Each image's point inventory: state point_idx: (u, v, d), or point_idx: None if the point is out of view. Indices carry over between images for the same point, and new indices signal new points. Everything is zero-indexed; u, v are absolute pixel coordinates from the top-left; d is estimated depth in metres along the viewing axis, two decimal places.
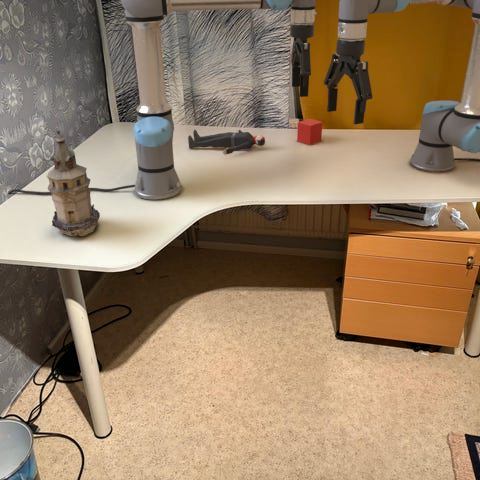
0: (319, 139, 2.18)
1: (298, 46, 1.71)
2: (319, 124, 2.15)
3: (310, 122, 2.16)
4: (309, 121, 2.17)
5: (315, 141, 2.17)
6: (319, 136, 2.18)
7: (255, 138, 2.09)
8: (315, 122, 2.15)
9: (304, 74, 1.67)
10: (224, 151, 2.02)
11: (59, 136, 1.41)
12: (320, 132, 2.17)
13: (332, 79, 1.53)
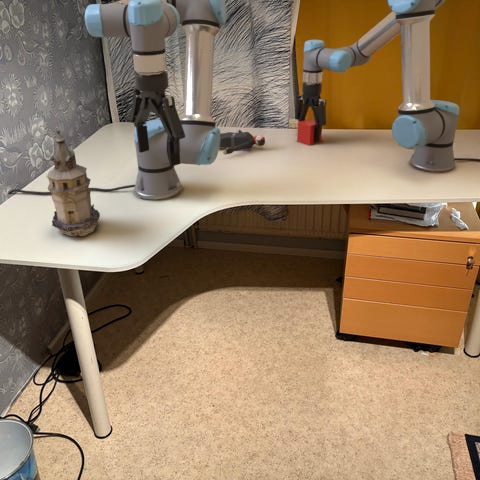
0: (319, 139, 2.18)
1: (153, 102, 1.26)
2: None
3: (310, 122, 2.16)
4: (309, 121, 2.17)
5: None
6: None
7: (255, 138, 2.09)
8: None
9: (178, 138, 1.25)
10: (224, 151, 2.02)
11: (59, 136, 1.41)
12: None
13: None
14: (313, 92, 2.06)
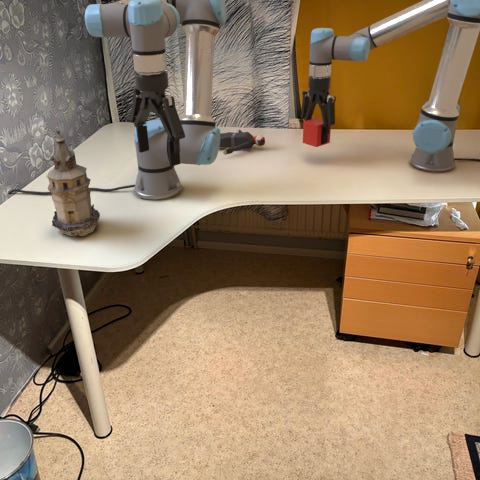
0: None
1: (153, 102, 1.26)
2: None
3: (318, 121, 1.92)
4: (317, 120, 1.93)
5: None
6: None
7: (255, 138, 2.09)
8: None
9: (178, 138, 1.25)
10: (224, 151, 2.02)
11: (59, 136, 1.41)
12: None
13: None
14: (321, 87, 1.83)
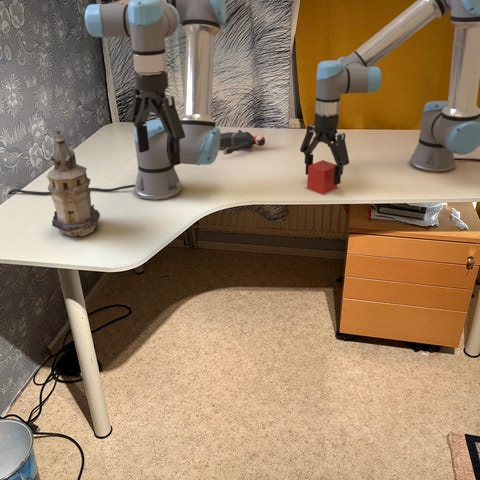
0: (334, 186, 1.77)
1: (153, 102, 1.26)
2: None
3: (324, 165, 1.75)
4: (323, 164, 1.76)
5: (329, 189, 1.76)
6: None
7: (255, 138, 2.09)
8: (330, 166, 1.74)
9: (178, 138, 1.25)
10: (224, 151, 2.02)
11: (59, 136, 1.41)
12: None
13: None
14: (328, 126, 1.64)
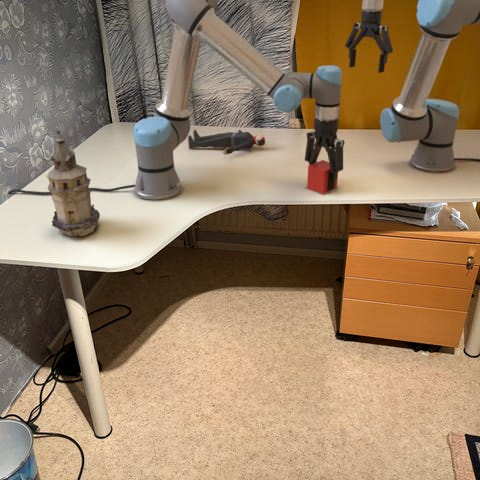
0: None
1: (327, 140, 1.68)
2: None
3: (324, 165, 1.75)
4: (323, 164, 1.76)
5: None
6: None
7: (255, 138, 2.09)
8: None
9: (339, 170, 1.69)
10: (224, 151, 2.02)
11: (59, 136, 1.41)
12: None
13: None
14: (373, 20, 1.95)
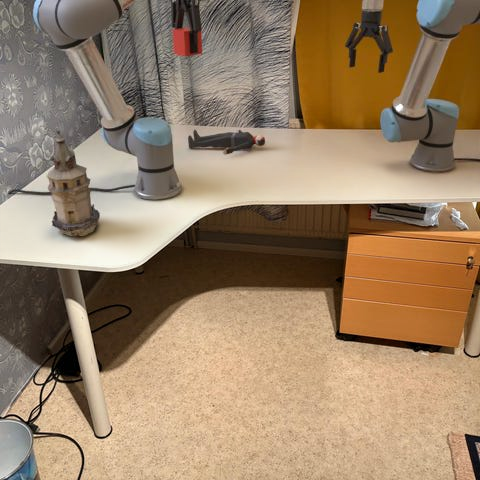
0: (199, 51, 1.84)
1: (184, 0, 1.75)
2: None
3: (187, 29, 1.82)
4: (187, 28, 1.83)
5: None
6: (199, 47, 1.84)
7: (255, 138, 2.09)
8: None
9: (196, 30, 1.77)
10: (224, 151, 2.02)
11: (59, 136, 1.41)
12: (200, 41, 1.83)
13: None
14: (373, 20, 1.95)
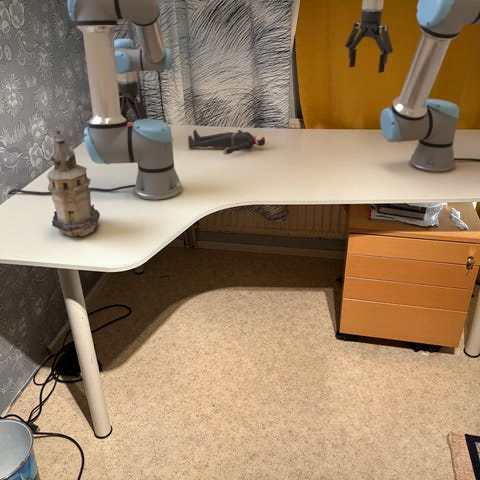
0: None
1: (129, 100, 2.08)
2: None
3: None
4: None
5: None
6: None
7: (255, 138, 2.09)
8: None
9: None
10: (224, 151, 2.02)
11: (59, 136, 1.41)
12: None
13: None
14: (373, 20, 1.95)
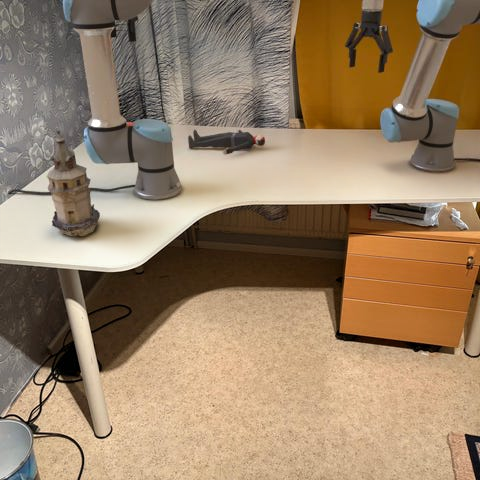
0: None
1: None
2: None
3: None
4: None
5: None
6: None
7: (255, 138, 2.09)
8: None
9: (133, 19, 1.89)
10: (224, 151, 2.02)
11: (59, 136, 1.41)
12: None
13: None
14: (373, 20, 1.95)
